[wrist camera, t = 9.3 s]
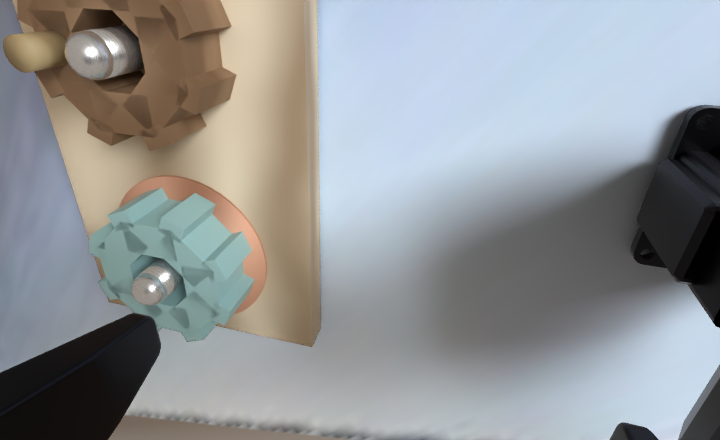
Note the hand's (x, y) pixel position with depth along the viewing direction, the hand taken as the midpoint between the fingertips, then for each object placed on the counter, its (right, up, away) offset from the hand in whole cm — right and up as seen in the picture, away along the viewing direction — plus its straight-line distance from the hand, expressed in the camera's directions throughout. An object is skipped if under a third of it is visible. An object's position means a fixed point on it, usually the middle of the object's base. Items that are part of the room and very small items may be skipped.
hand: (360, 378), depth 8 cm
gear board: (-8, +6, +13) cm, 17 cm away
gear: (-8, +10, +9) cm, 16 cm away
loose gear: (-9, +1, +14) cm, 17 cm away
